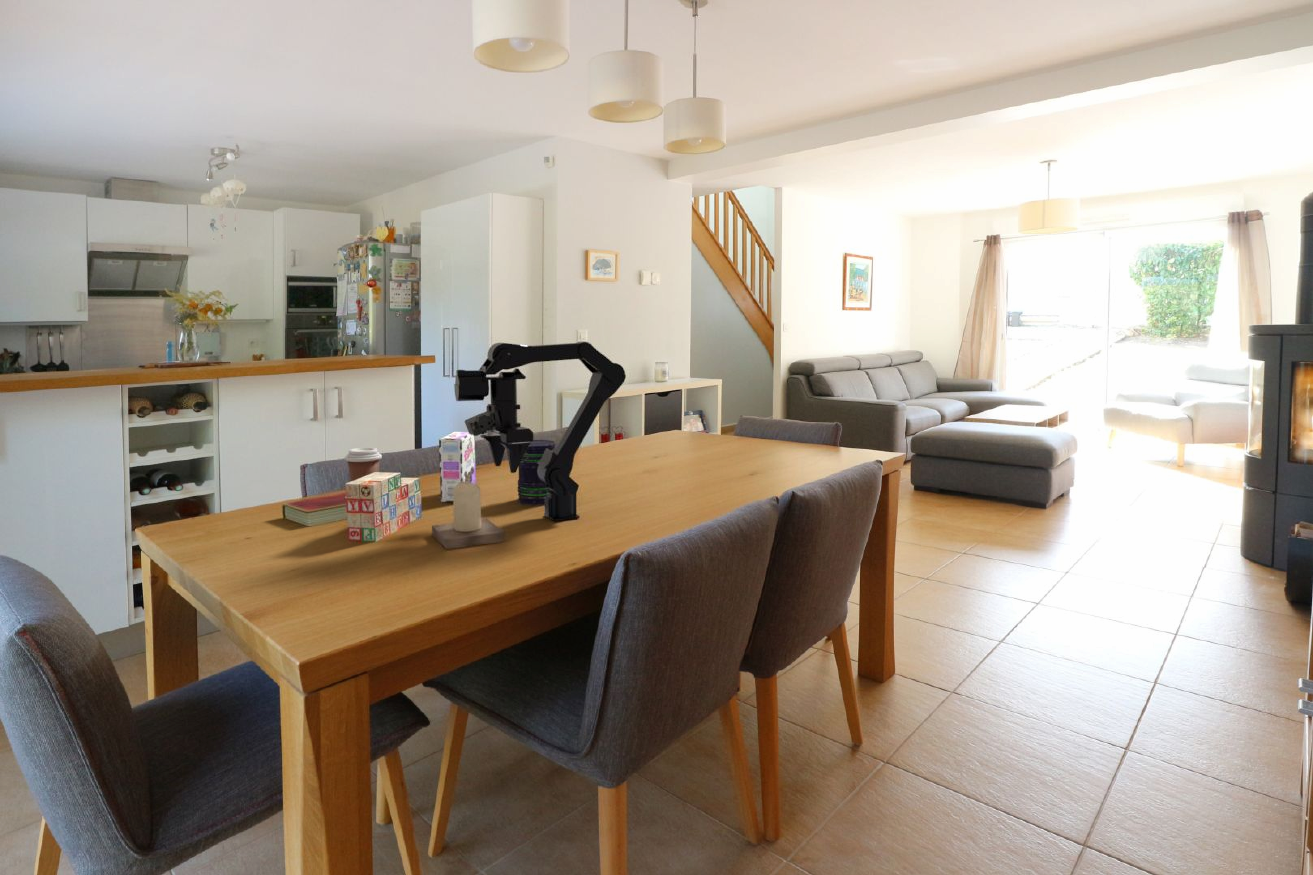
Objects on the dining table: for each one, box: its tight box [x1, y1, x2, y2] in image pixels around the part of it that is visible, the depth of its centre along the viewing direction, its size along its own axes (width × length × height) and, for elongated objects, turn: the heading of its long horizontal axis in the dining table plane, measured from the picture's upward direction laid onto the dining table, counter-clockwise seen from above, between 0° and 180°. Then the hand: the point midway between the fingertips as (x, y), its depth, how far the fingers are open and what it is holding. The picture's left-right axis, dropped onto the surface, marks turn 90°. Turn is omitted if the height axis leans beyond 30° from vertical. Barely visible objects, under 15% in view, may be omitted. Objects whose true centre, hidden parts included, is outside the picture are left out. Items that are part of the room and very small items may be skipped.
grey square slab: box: [431, 518, 506, 550], centre depth 158 cm, size 12×12×2 cm
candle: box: [452, 481, 482, 532], centre depth 157 cm, size 6×6×10 cm
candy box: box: [438, 431, 477, 503], centre depth 195 cm, size 14×6×16 cm, turn 179°
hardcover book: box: [281, 492, 347, 527], centre depth 178 cm, size 12×21×4 cm, turn 141°
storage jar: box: [517, 439, 557, 506], centre depth 191 cm, size 10×10×15 cm
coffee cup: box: [344, 446, 383, 482], centre depth 197 cm, size 9×9×12 cm
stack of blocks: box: [345, 471, 423, 543], centre depth 165 cm, size 21×6×12 cm, turn 172°
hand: (505, 469), depth 169 cm, fingers open, 9 cm apart
